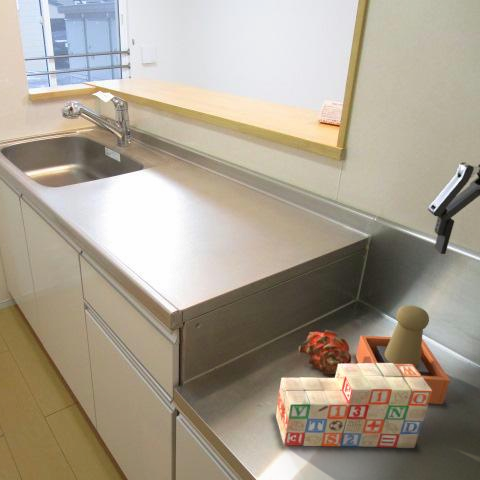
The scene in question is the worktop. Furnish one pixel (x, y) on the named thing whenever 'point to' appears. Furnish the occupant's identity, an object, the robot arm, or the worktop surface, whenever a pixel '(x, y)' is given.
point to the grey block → (381, 359)
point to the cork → (407, 336)
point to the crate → (436, 374)
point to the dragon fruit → (326, 351)
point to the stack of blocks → (354, 407)
